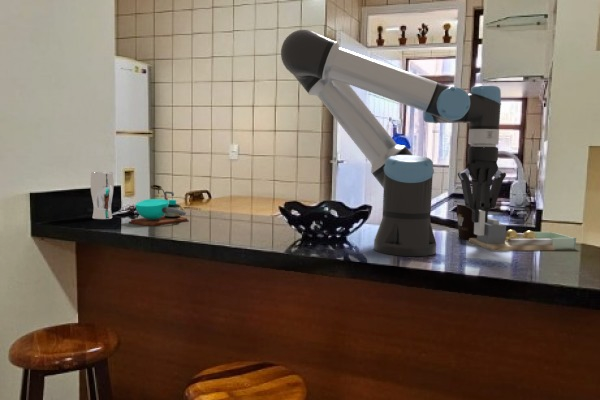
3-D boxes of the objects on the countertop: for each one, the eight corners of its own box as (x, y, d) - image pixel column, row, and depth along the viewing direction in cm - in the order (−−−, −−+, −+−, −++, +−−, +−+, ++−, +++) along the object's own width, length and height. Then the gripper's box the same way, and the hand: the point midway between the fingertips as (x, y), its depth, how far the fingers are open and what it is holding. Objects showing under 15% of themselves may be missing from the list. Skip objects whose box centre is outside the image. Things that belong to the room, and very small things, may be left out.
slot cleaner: (487, 244, 138) (489, 220, 138) (476, 240, 144) (478, 217, 143) (504, 243, 139) (506, 220, 139) (493, 240, 145) (494, 217, 144)
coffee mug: (487, 242, 148) (490, 206, 147) (456, 240, 150) (458, 205, 149) (482, 235, 159) (484, 202, 158) (452, 233, 161) (454, 201, 160)
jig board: (492, 251, 135) (493, 240, 135) (468, 242, 147) (469, 232, 147) (554, 250, 139) (555, 240, 138) (526, 241, 150) (527, 232, 150)
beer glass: (89, 220, 167) (88, 173, 165) (93, 217, 174) (92, 171, 172) (112, 220, 168) (111, 173, 167) (115, 217, 175) (114, 172, 174)
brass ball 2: (527, 243, 141) (528, 231, 141) (520, 241, 144) (521, 229, 144) (538, 243, 142) (539, 231, 141) (530, 241, 145) (531, 229, 144)
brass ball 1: (508, 242, 142) (509, 230, 141) (502, 240, 145) (502, 228, 145) (519, 242, 142) (520, 230, 142) (512, 240, 146) (513, 228, 145)
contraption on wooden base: (198, 222, 169) (199, 176, 168) (155, 229, 154) (155, 178, 153) (168, 218, 177) (168, 173, 175) (124, 224, 162) (123, 175, 160)
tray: (552, 249, 140) (552, 238, 139) (528, 242, 150) (529, 232, 149) (575, 249, 141) (576, 238, 141) (550, 242, 151) (551, 231, 151)
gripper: (467, 145, 133) (463, 237, 136) (514, 146, 136) (509, 236, 138) (453, 145, 141) (449, 232, 143) (498, 146, 143) (493, 231, 145)
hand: (478, 234), depth 141 cm, fingers closed
